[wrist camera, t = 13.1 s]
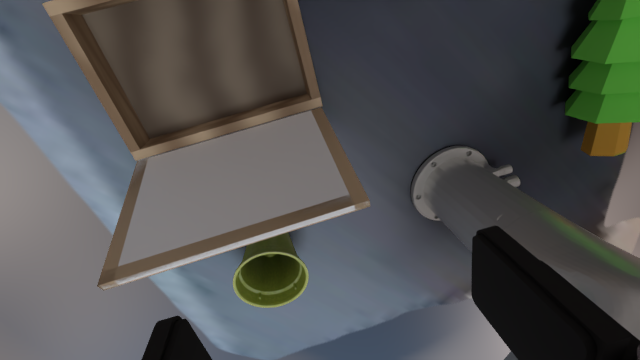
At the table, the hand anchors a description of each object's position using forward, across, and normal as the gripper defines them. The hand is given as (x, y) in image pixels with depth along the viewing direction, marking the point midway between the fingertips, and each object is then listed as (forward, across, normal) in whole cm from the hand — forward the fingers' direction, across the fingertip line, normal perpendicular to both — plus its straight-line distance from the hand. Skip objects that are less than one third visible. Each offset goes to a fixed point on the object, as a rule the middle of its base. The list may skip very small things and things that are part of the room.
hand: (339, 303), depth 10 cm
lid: (+19, +6, +3) cm, 20 cm away
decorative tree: (+33, -42, +2) cm, 53 cm away
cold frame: (+31, +7, -7) cm, 32 cm away
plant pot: (+32, +8, +19) cm, 38 cm away
